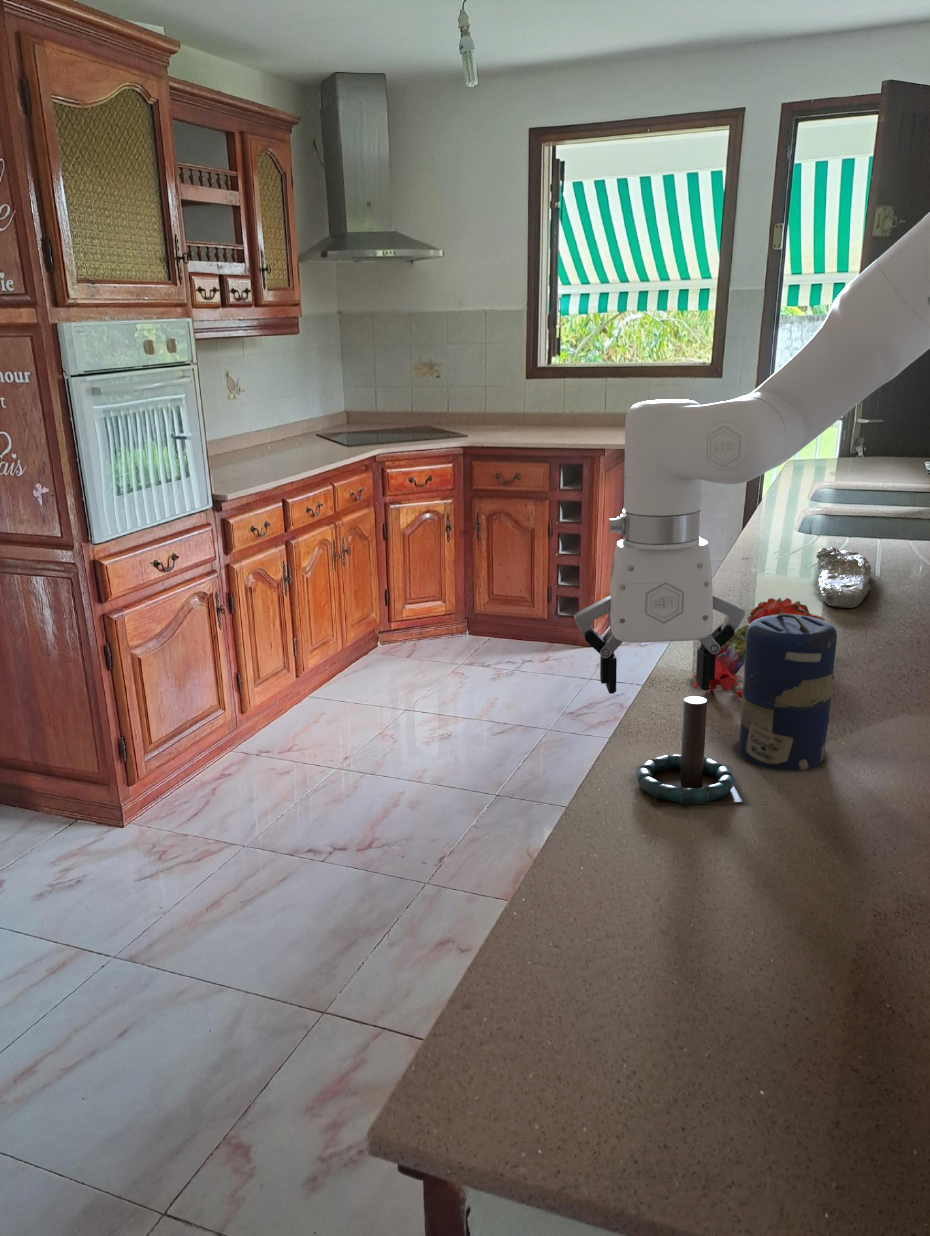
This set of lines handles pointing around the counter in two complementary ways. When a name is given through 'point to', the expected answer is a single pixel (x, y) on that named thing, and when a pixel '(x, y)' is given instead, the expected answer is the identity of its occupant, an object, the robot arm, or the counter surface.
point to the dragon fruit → (779, 609)
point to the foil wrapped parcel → (842, 577)
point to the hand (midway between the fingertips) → (656, 687)
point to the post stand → (693, 756)
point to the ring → (684, 794)
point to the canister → (787, 691)
